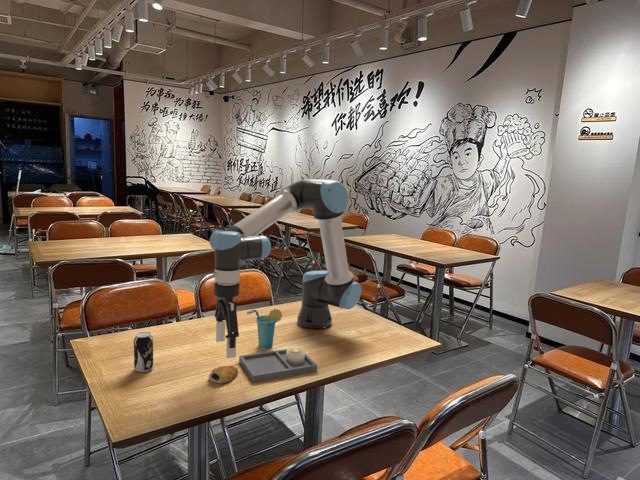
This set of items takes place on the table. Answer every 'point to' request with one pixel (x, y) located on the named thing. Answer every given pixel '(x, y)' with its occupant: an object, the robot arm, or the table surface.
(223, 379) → the pastry
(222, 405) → the table surface
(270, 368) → the serving board
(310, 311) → the robot arm
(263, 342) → the cup
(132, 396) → the table surface
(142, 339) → the beverage can
